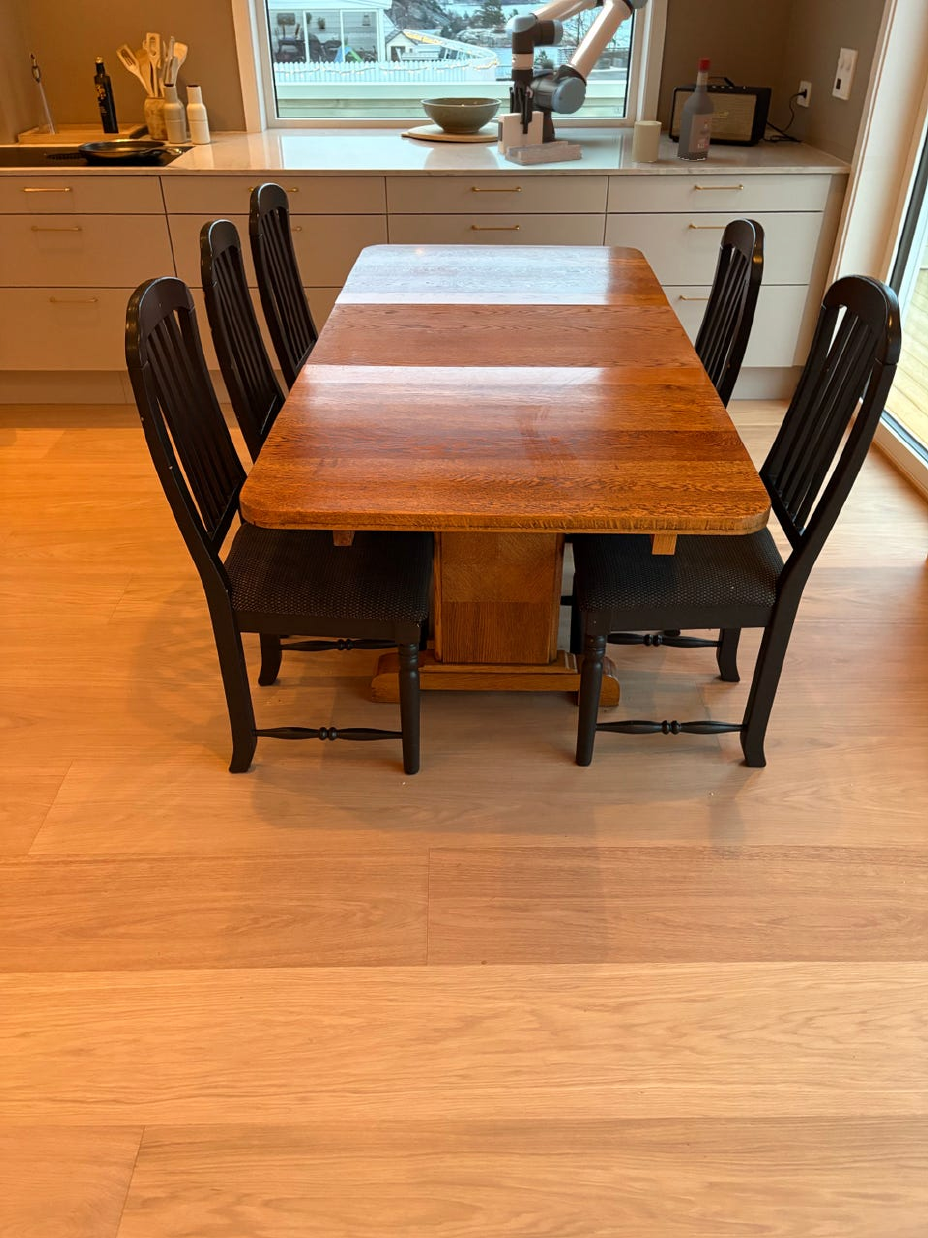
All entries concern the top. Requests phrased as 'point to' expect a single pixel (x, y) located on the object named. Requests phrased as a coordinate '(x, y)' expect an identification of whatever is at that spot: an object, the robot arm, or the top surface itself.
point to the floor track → (542, 152)
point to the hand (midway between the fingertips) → (520, 142)
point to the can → (646, 141)
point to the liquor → (697, 118)
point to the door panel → (518, 130)
